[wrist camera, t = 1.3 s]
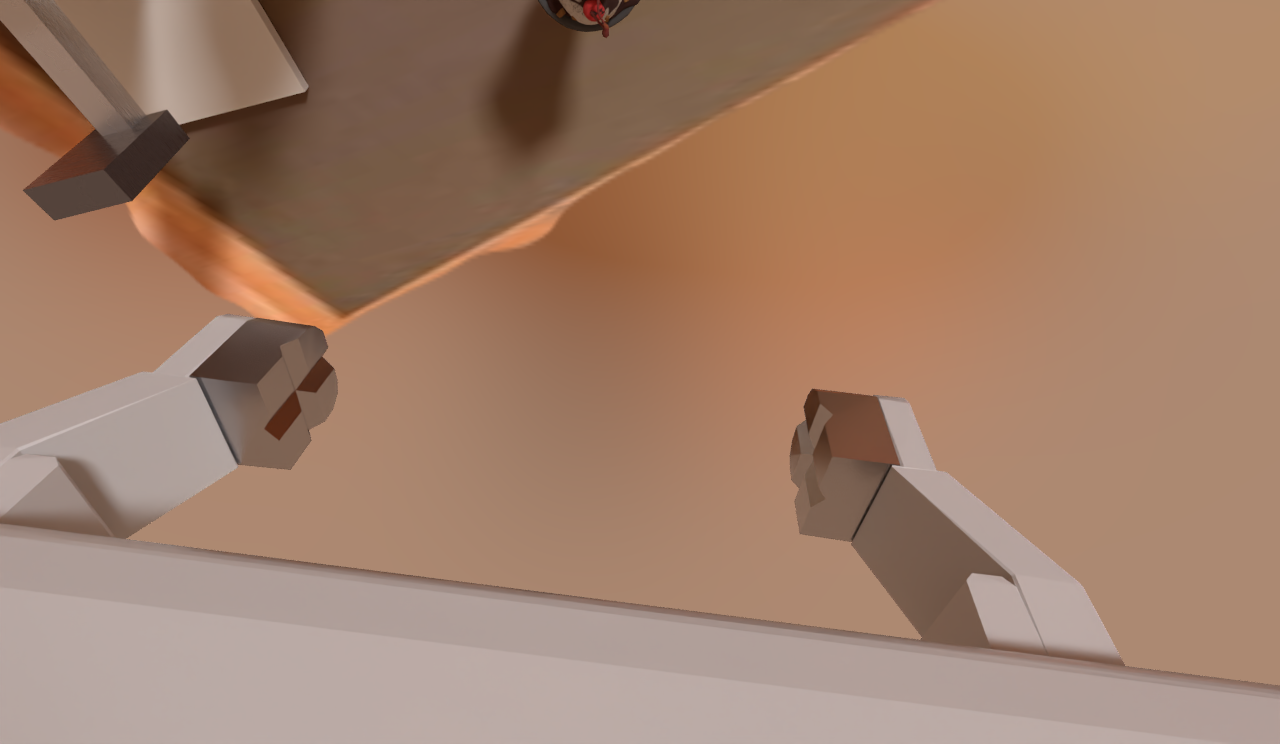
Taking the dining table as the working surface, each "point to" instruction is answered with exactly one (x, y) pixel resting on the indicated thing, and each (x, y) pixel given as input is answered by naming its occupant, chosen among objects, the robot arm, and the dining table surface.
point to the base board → (189, 53)
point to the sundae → (588, 13)
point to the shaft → (90, 118)
